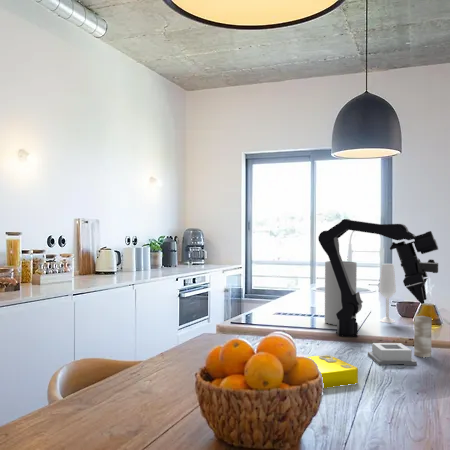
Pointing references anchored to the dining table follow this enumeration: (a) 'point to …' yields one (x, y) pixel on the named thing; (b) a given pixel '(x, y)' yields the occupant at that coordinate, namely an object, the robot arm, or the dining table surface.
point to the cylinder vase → (336, 290)
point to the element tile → (335, 371)
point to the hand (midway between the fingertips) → (424, 301)
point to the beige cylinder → (422, 336)
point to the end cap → (391, 354)
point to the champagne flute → (387, 287)
